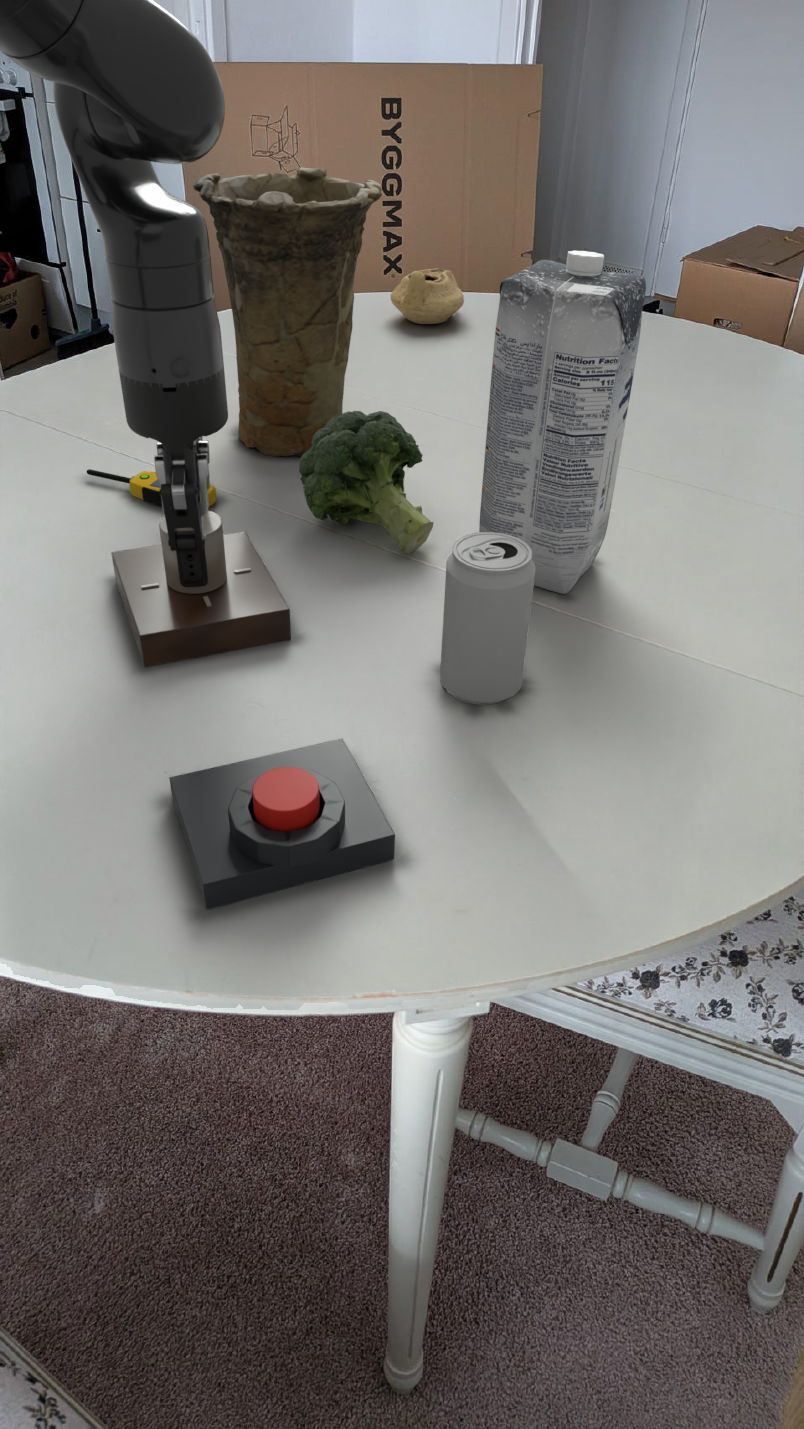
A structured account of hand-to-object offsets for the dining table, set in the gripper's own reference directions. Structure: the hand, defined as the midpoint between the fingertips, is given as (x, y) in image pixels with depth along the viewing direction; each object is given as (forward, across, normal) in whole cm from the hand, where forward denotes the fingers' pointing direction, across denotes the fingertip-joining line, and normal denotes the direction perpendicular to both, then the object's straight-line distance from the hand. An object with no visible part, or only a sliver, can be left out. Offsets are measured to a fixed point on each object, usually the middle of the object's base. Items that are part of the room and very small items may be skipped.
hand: (195, 566), depth 83 cm
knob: (+1, 0, 0) cm, 1 cm away
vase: (+4, -38, +10) cm, 39 cm away
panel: (+4, 0, 0) cm, 4 cm away
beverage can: (+5, +13, +22) cm, 26 cm away
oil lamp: (+4, -81, +32) cm, 88 cm away
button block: (+4, +27, +6) cm, 28 cm away
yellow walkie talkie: (+4, -23, -6) cm, 24 cm away
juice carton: (+5, -5, +31) cm, 31 cm away
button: (+1, +29, +6) cm, 30 cm away
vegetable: (+5, -14, +16) cm, 22 cm away
